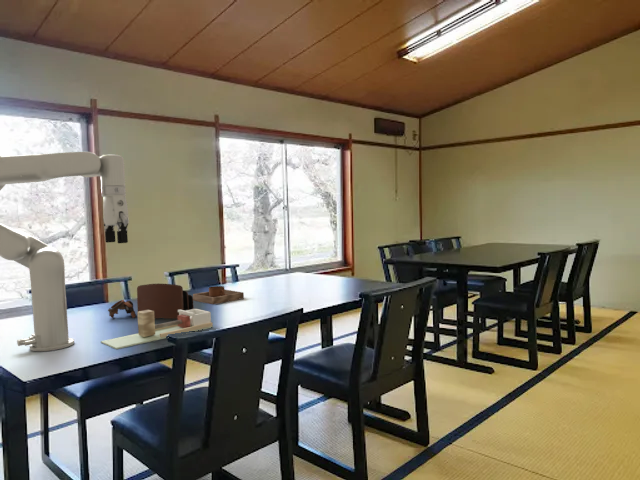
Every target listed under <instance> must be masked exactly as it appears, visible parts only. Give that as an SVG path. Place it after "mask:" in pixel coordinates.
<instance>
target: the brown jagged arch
mask: <svg viewBox="0 0 640 480" xmlns="http://www.w3.org/2000/svg"><path fill="white" fill-rule="evenodd" d="M122 310H123V311H124V310H125V312H126V314H128V315H129V314H130V315H131V318H132V319H134V318H135V317H136V316H137V313H136V311H135V309H134V303H133V301H131V300H126V301H125V299H121V300H118V301H117V302H116V303H114V304H113V305H112V306H111V307H109V308H108V309H107V312H108V315H109V317H111V318H112V319H114V317H115V315H118V314H119V311H122Z"/></svg>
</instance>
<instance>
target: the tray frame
mask: <svg viewBox="0 0 640 480" xmlns="http://www.w3.org/2000/svg"><path fill="white" fill-rule="evenodd" d="M224 292H225V294H228V295H224V296H219V297H209V296H207V295H209V291H205V292H204V291H203V292H198V293H193V294H192V297H193V302H199V303H204V304H210V305H218V304H223V303H228V302H234V301H240V300H244V299H245V297H244V292H242V291H235V290H230V289H225V288H224Z"/></svg>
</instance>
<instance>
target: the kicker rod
mask: <svg viewBox="0 0 640 480" xmlns="http://www.w3.org/2000/svg"><path fill="white" fill-rule="evenodd" d="M136 316H137V328H138V329H137V330H138V333H139V335H140V336H143V337H146V336H151V335H155V329H158V328H162V327H167V326H172V325H177V324H178V326H179V327H182V328H188V327H190V316H187V315H183V314H182V315H178V319H176V320H173V321H168V322H163V323H158V324H157V323H155V320H156V318H154V311H152V310H144V311H139V312H138V311H137V313H136Z"/></svg>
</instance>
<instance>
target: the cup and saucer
mask: <svg viewBox="0 0 640 480" xmlns="http://www.w3.org/2000/svg"><path fill="white" fill-rule="evenodd" d="M224 289H225V286H224V285H223V286H221V285H218V286H217V285H215V286H210V287H208V292H209V295H207V296H209V297H219V296H224V295H228V294H225V292H224Z"/></svg>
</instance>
